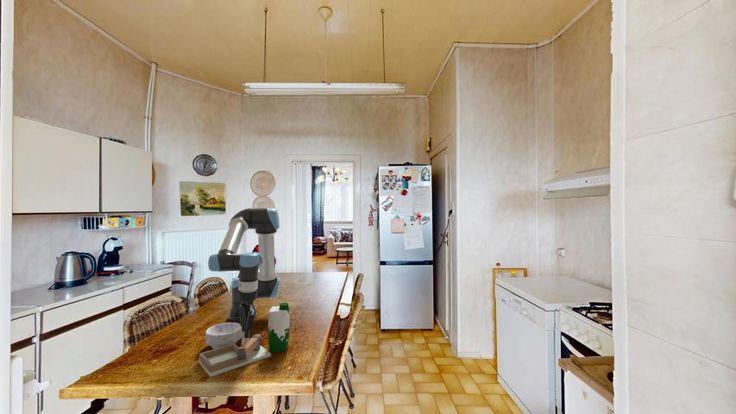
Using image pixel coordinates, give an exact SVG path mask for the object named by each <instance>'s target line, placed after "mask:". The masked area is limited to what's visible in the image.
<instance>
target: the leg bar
mask: <svg viewBox="0 0 736 414" xmlns="http://www.w3.org/2000/svg"><path fill="white" fill-rule="evenodd" d="M261 343H262V335H261V334H260V333H258V334H257V333H256V334H253V335H252V337H251V338H249V340H248V341H247V342H246V343H245V344H244V345H243V346H242V345H241V346H240V347H241V348H240V349H239V350H237V359H238V360H243V359H245V358H246V357H247V356H248V355H249V354H250V353H251V352H252V351H253V350H254V349H255V348H256V346H257V345H258V344H260V345H261Z"/></svg>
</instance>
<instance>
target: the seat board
mask: <svg viewBox="0 0 736 414" xmlns="http://www.w3.org/2000/svg"><path fill="white" fill-rule="evenodd" d="M241 347H242V346H238V345H237V343H236V344H231V345H227V346H224V347H220V348H217V349H211V350H207V351H203V352H200V353H199V355H198V363H199V365H200V366H201V367H202V368H203V370H204V372H206V374H208V377H210V378H211V377H214V376H216V375H219V373H220V374H222V373H225V372H228V371H231V370H233V369H234V370H235V369H238V368H240V367H243V366H246V365H248V364H252V363H254V362H258V361H261V360H263V359H266V358H269V357H272V352H269V350H267V349H266V348H265V347H263V346H262V345H261V343H260V344H258V345H257V346H256V348H255V349H254V350H253V351H252V352H251V353H250V354H249V355H248V356H247V357H246V358H245V359H243V360H238V359H237V350H239V349H240V348H241Z"/></svg>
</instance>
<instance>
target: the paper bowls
mask: <svg viewBox="0 0 736 414" xmlns="http://www.w3.org/2000/svg"><path fill="white" fill-rule="evenodd" d="M241 339H242V326H240V323H237V322H223V323H219V324H214V325H212V326H210V327H208V328H207V329H206V330H205V344H206V345H207V346H210V347H211V348H212V350H214V349H217V348H220V347H224V346H227V345H231V344H236V345H237V342H238V341H240V340H241Z"/></svg>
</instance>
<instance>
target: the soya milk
mask: <svg viewBox="0 0 736 414" xmlns="http://www.w3.org/2000/svg"><path fill="white" fill-rule="evenodd" d="M267 320H268V321H267V322H268V323H267V325H268V326H267V327H268V328H267V343H268V352H270V353H279V352H280V353H281V352H286V351H287V348H288V346H289V341H290V304H289V303H288V302H281V303H279V305H277V306H271V307H270V309H269V311H268V319H267Z"/></svg>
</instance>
